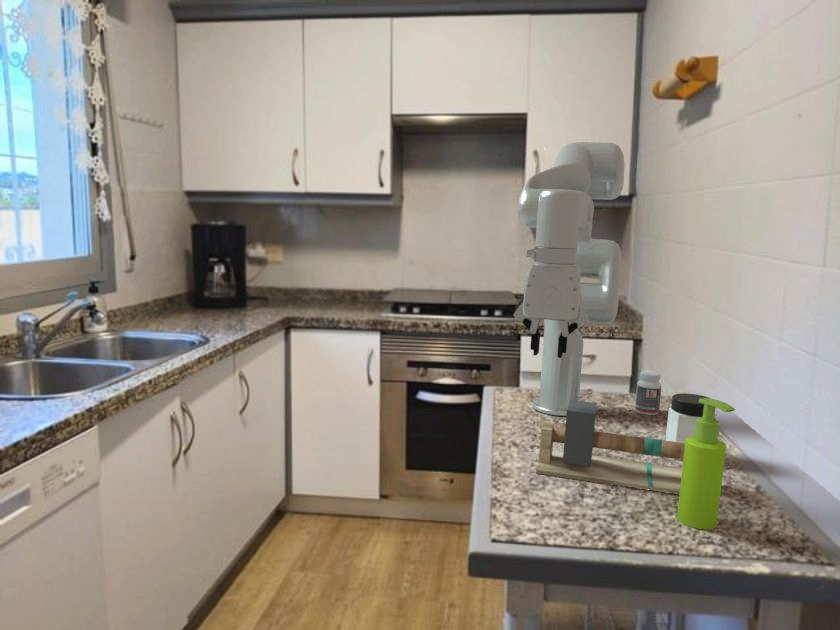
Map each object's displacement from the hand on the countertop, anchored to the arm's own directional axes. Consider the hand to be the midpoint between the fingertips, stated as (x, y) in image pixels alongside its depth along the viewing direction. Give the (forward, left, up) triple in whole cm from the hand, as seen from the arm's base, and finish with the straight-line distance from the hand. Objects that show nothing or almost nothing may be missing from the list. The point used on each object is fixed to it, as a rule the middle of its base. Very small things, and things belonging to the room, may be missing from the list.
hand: (547, 354), depth 125 cm
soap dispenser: (+16, +27, -21) cm, 38 cm away
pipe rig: (0, +15, -21) cm, 26 cm away
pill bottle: (-45, +21, -21) cm, 54 cm away
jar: (-16, +28, -21) cm, 39 cm away
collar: (0, +7, -19) cm, 21 cm away
